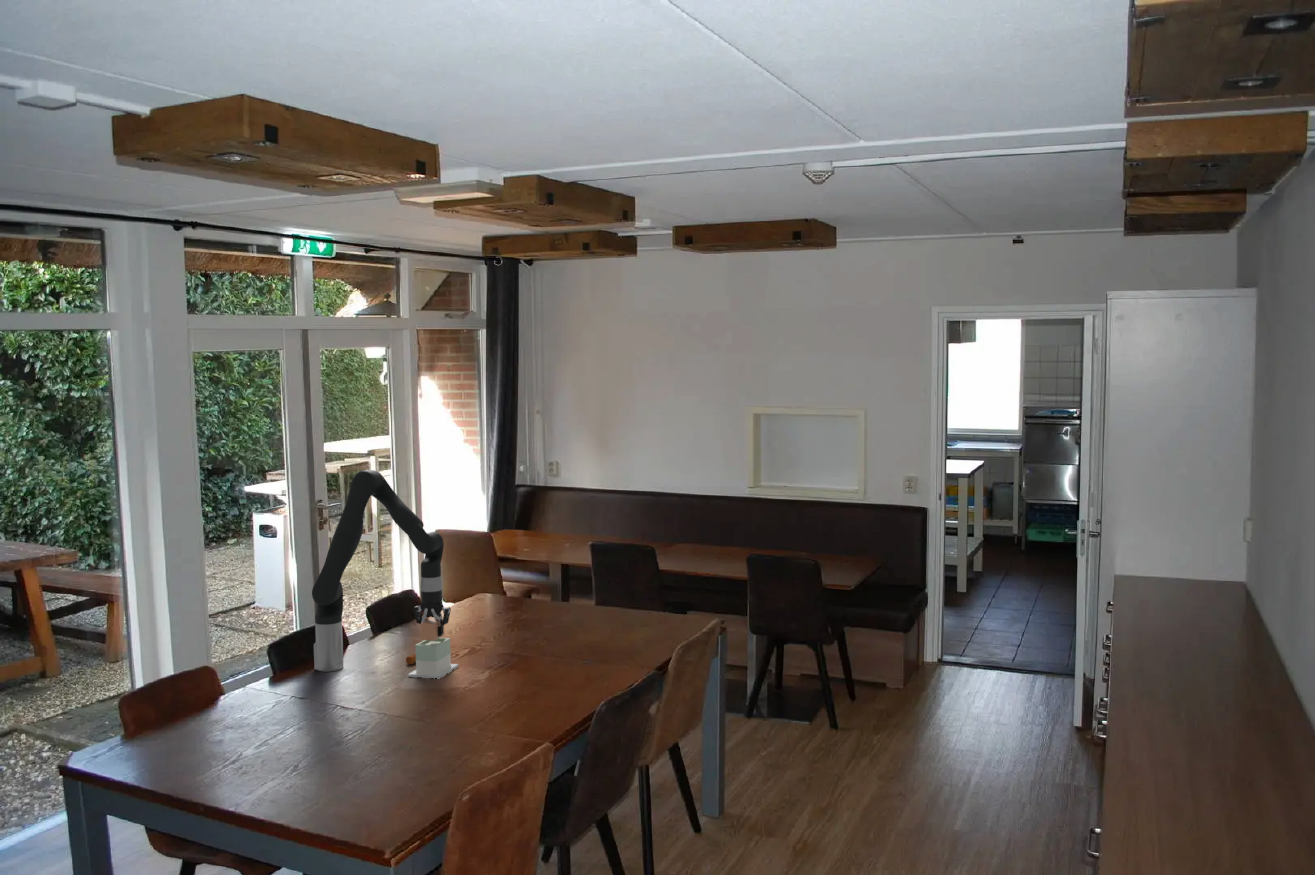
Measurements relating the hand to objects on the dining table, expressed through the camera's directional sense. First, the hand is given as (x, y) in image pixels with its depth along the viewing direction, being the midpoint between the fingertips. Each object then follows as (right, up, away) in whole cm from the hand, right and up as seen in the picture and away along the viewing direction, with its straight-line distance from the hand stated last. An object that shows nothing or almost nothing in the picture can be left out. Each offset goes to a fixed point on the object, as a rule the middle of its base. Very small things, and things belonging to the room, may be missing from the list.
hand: (432, 635), depth 375 cm
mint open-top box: (0, -13, +1) cm, 13 cm away
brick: (0, -1, 0) cm, 1 cm away
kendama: (-6, -12, +19) cm, 24 cm away
